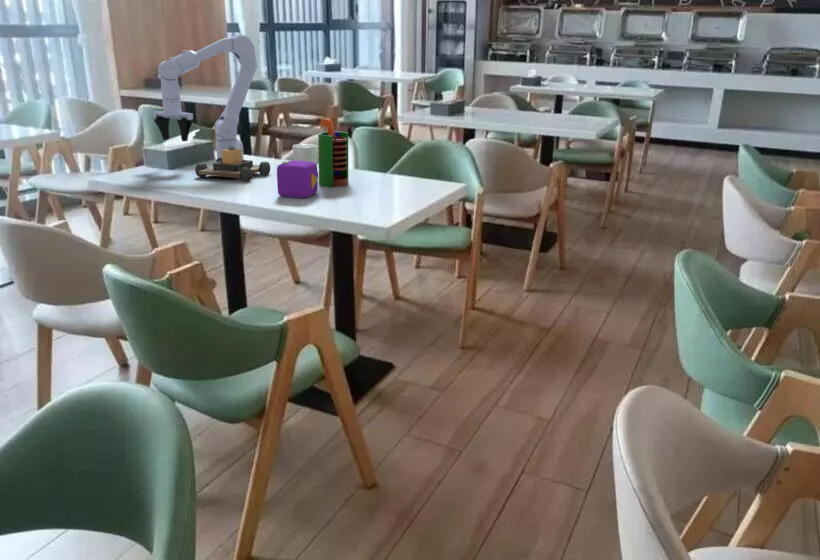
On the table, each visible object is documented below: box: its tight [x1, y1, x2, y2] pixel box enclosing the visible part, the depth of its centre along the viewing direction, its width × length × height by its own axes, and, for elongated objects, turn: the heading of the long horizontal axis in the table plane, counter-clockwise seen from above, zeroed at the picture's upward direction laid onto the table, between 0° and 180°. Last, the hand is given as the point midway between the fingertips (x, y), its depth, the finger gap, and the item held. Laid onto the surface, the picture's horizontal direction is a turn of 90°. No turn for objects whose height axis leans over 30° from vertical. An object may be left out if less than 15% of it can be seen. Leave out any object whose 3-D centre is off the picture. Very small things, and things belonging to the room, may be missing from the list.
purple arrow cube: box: [276, 159, 319, 199], centre depth 198 cm, size 11×14×10 cm
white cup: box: [292, 143, 318, 165], centre depth 222 cm, size 8×8×10 cm
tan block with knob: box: [222, 146, 242, 165], centre depth 219 cm, size 5×4×7 cm
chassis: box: [194, 158, 271, 183], centre depth 221 cm, size 16×18×5 cm
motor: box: [317, 118, 349, 189], centre depth 209 cm, size 10×9×20 cm
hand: (175, 140), depth 230 cm, fingers open, 7 cm apart
